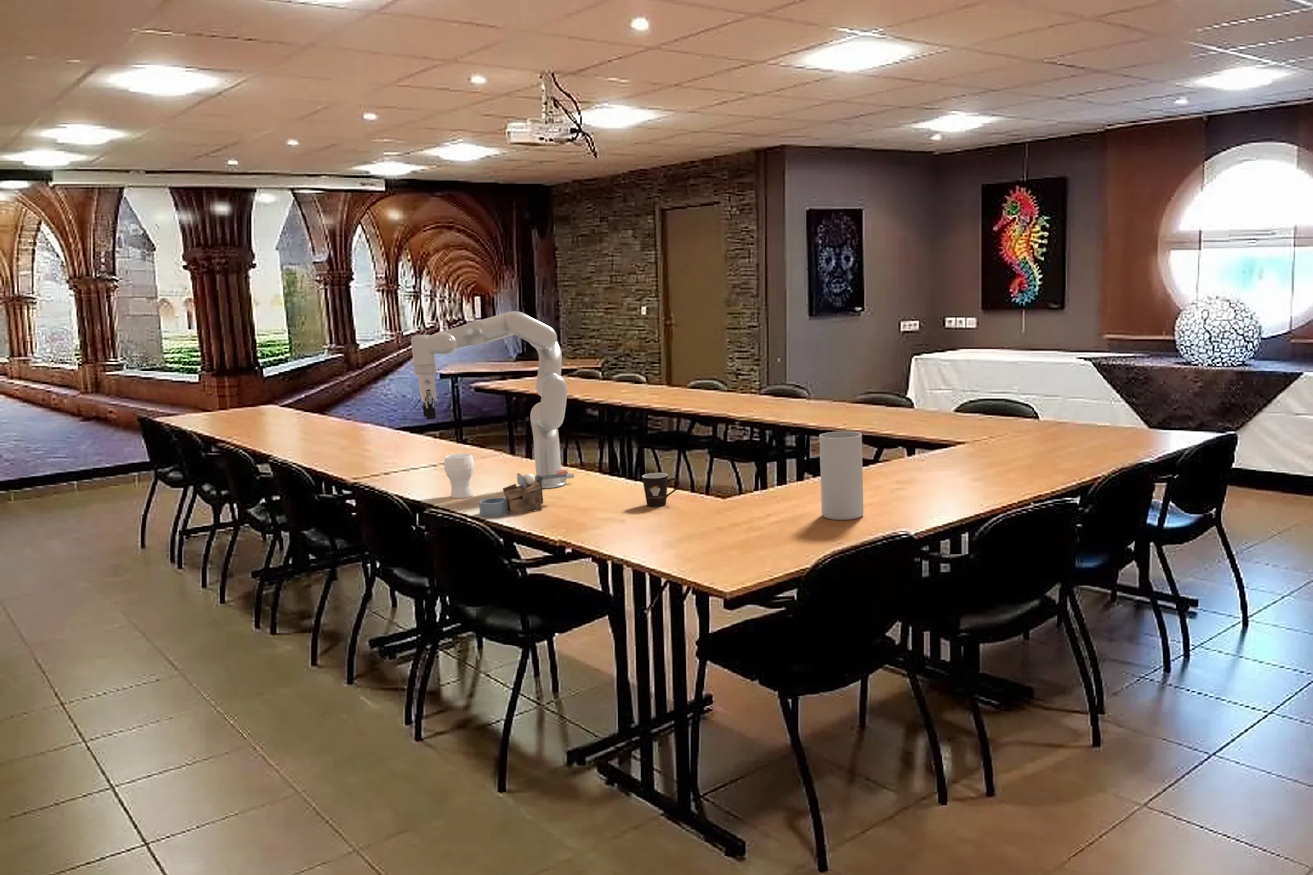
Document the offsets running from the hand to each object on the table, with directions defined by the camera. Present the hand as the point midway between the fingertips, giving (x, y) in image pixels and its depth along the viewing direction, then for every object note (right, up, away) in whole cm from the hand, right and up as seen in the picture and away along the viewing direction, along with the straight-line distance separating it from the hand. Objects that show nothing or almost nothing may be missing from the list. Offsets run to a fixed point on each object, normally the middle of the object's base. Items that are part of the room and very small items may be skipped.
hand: (429, 417), depth 352 cm
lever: (+43, -22, -16) cm, 51 cm away
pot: (+27, -33, -22) cm, 48 cm away
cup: (+10, -29, +10) cm, 32 cm away
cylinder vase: (+138, -31, -52) cm, 150 cm away
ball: (+38, -21, -20) cm, 48 cm away
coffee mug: (+82, -30, -23) cm, 91 cm away
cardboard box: (+37, -31, -17) cm, 51 cm away
